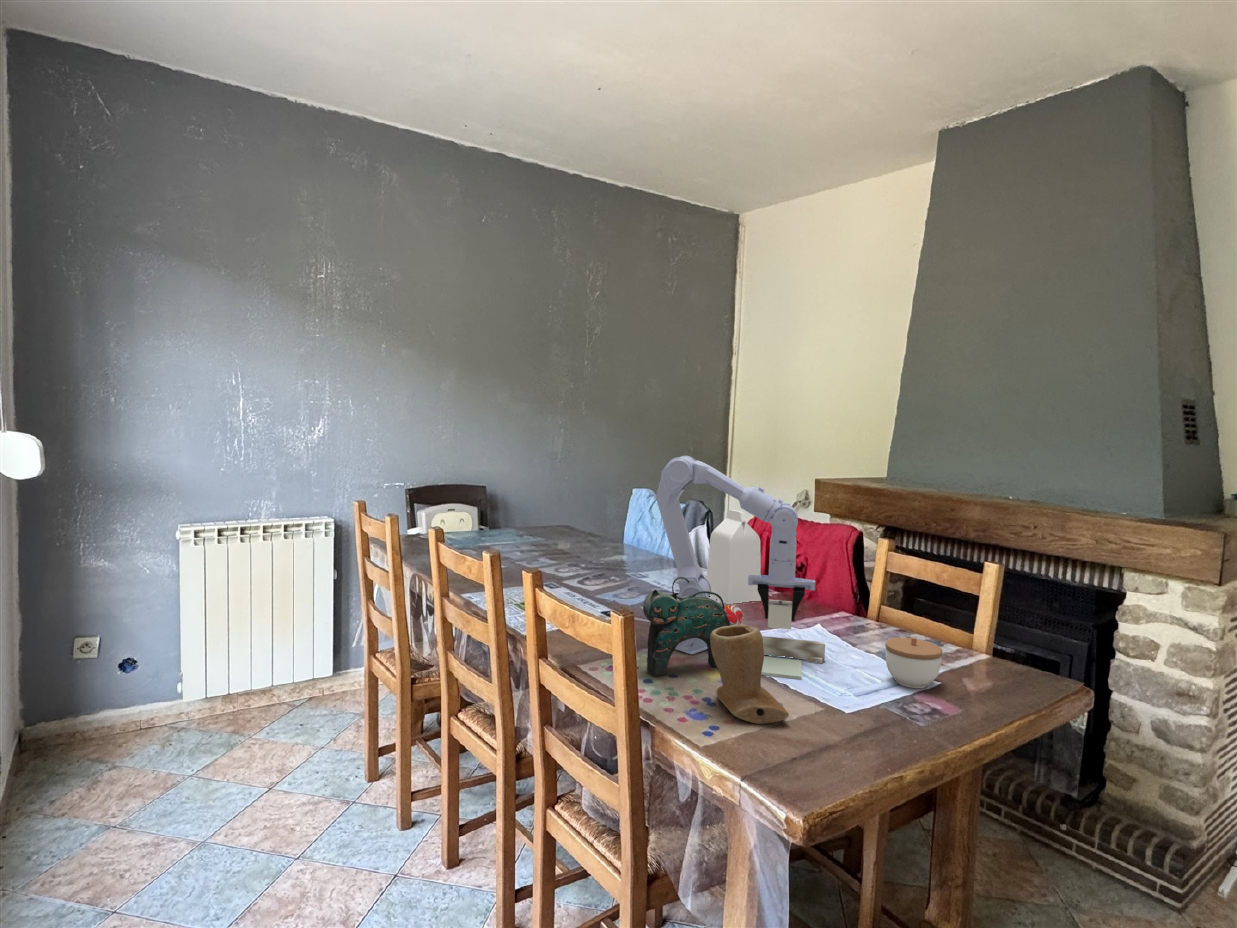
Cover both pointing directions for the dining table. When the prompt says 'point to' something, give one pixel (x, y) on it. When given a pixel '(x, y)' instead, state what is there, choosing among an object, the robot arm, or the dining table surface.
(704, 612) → the ceramic cat
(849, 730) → the dining table surface
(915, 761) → the dining table surface
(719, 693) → the clay boot
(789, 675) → the pad
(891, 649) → the lidded jar
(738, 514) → the milk
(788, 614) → the marked cube
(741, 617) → the soda can
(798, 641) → the beige wooden bar
